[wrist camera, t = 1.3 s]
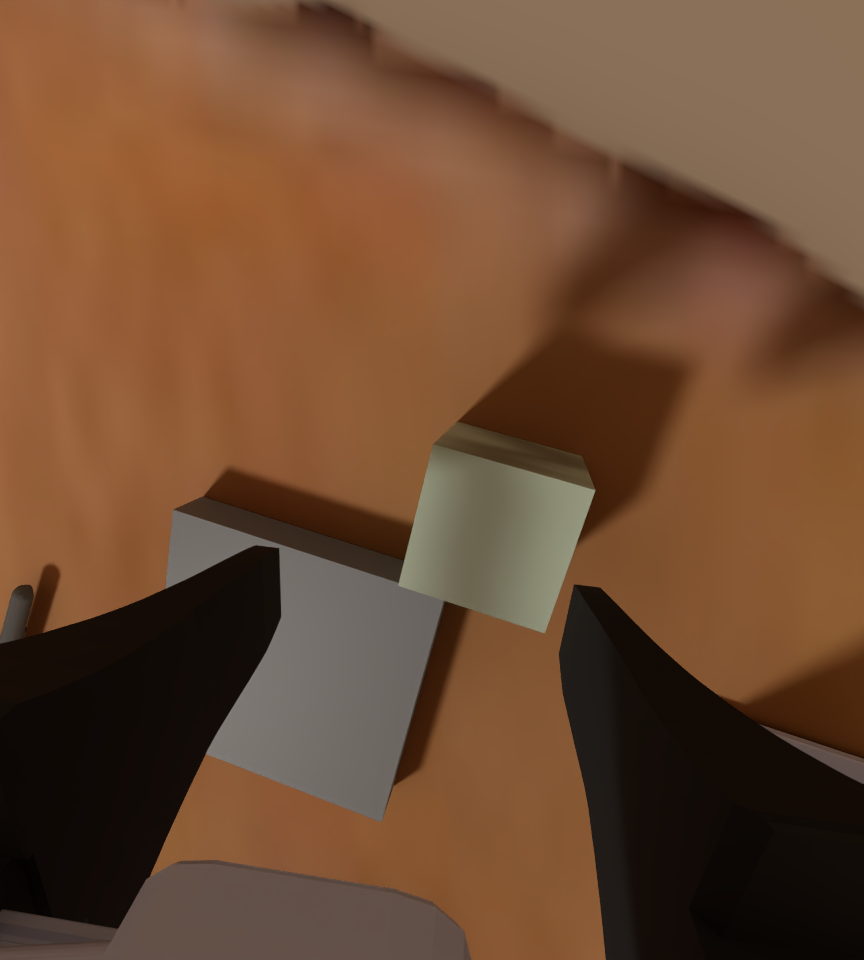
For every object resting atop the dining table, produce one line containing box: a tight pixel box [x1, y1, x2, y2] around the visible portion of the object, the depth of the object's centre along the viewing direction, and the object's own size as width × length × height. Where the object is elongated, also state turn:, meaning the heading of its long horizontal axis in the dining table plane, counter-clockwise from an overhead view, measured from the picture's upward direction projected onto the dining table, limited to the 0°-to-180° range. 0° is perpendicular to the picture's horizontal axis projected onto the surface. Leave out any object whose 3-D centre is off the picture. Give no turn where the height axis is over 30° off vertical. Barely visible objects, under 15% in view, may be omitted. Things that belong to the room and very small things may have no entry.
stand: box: [166, 497, 446, 822], centre depth 24 cm, size 12×12×2 cm
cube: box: [398, 421, 595, 633], centre depth 18 cm, size 5×5×5 cm
